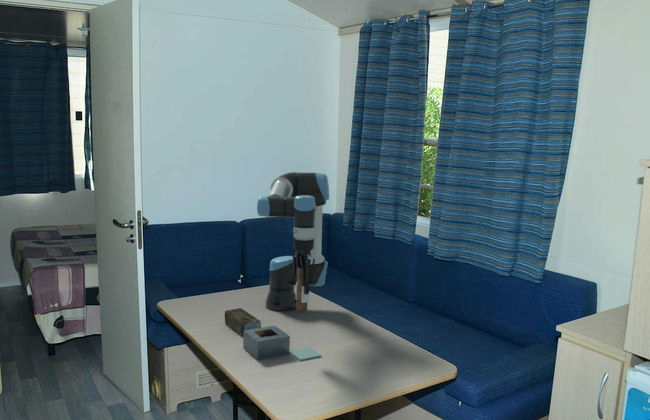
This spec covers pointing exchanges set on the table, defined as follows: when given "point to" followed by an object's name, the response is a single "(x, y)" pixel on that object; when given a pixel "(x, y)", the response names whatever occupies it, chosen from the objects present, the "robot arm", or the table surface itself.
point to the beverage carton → (241, 320)
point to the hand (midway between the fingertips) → (302, 300)
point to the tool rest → (304, 353)
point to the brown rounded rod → (300, 292)
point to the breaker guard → (266, 342)
